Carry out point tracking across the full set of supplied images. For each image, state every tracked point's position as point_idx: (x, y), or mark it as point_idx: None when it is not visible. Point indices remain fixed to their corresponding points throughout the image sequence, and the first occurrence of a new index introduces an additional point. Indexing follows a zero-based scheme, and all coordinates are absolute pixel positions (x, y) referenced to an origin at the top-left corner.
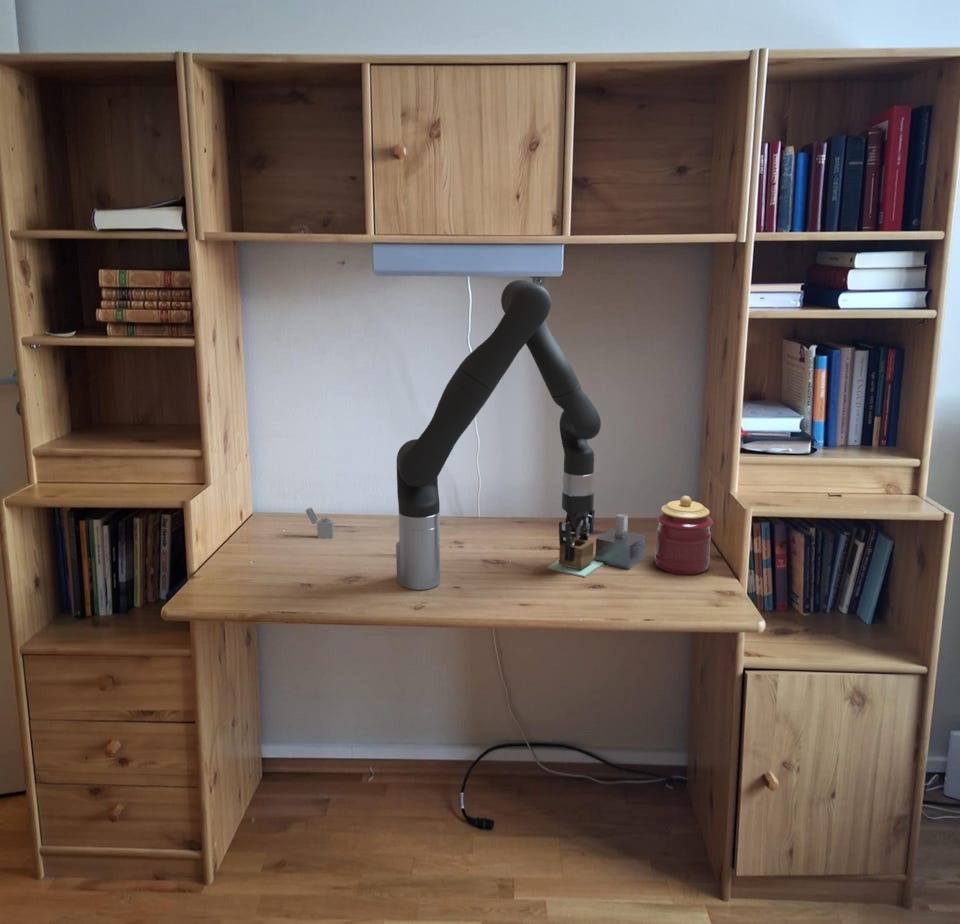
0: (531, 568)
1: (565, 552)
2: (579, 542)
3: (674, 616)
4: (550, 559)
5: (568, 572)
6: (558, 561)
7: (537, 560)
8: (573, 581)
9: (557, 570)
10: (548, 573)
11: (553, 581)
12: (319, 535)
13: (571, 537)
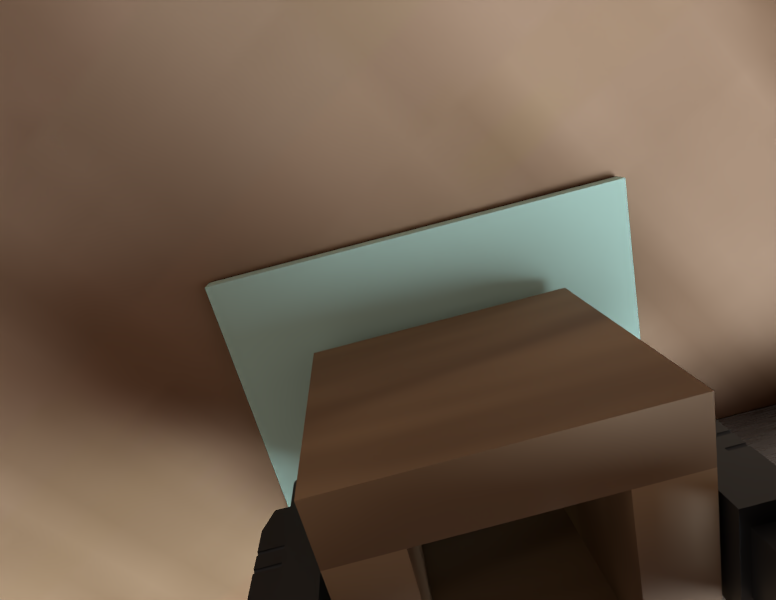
0: (68, 166)
1: (253, 594)
2: (628, 549)
3: None
4: (421, 116)
5: (281, 482)
6: (404, 254)
7: (286, 30)
8: (200, 594)
9: (245, 385)
10: (137, 370)
11: (56, 513)
12: None
13: (698, 402)
